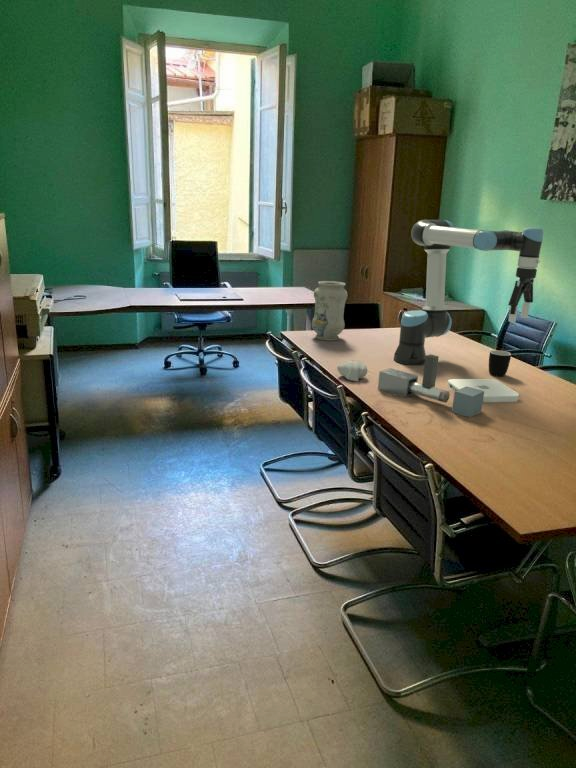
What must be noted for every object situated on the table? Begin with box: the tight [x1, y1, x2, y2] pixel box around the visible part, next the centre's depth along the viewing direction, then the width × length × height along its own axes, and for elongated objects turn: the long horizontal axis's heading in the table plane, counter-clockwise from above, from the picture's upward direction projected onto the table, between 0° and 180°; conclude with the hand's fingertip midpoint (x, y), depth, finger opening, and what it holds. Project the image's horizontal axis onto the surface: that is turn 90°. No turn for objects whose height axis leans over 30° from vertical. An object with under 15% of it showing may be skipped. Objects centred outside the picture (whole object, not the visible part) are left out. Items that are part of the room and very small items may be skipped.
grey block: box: [451, 386, 484, 418], centre depth 208 cm, size 7×9×8 cm
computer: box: [447, 378, 520, 403], centre depth 231 cm, size 22×22×3 cm
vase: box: [311, 280, 348, 342], centre depth 306 cm, size 18×18×30 cm
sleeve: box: [377, 368, 419, 398], centre depth 227 cm, size 13×8×7 cm, turn 47°
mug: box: [488, 349, 512, 378], centre depth 257 cm, size 12×9×10 cm
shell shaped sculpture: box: [336, 360, 368, 382], centre depth 243 cm, size 13×13×6 cm
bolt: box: [408, 353, 451, 404], centre depth 220 cm, size 26×4×16 cm, turn 47°
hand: (517, 319), depth 237 cm, fingers open, 13 cm apart
